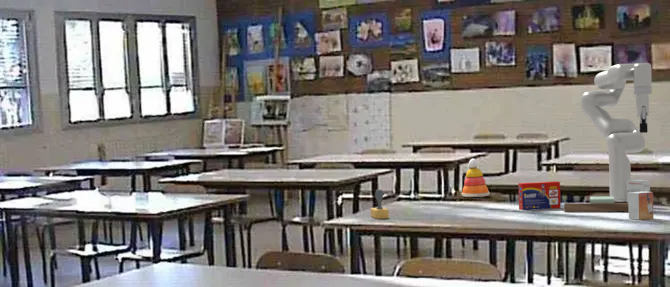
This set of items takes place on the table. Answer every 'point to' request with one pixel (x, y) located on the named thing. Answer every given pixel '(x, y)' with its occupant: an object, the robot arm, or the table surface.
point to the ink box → (637, 186)
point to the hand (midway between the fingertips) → (643, 132)
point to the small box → (640, 205)
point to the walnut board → (595, 207)
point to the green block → (602, 199)
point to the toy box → (539, 195)
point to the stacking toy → (474, 182)
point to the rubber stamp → (379, 207)
